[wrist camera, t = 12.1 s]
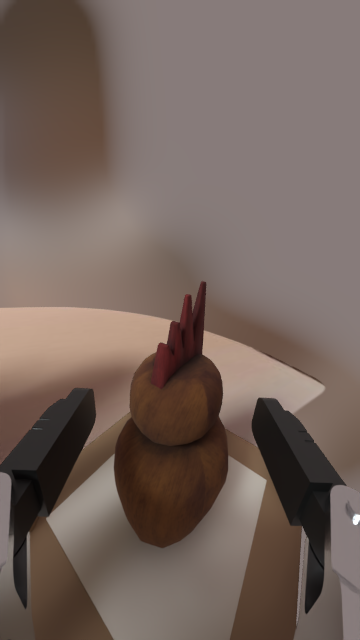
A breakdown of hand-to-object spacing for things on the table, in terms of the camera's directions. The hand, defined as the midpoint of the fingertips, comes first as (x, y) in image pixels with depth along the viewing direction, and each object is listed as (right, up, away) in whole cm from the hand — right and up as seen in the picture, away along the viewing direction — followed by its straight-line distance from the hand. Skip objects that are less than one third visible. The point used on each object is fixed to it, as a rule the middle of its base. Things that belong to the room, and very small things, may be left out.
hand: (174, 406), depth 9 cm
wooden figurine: (0, -9, +4) cm, 9 cm away
